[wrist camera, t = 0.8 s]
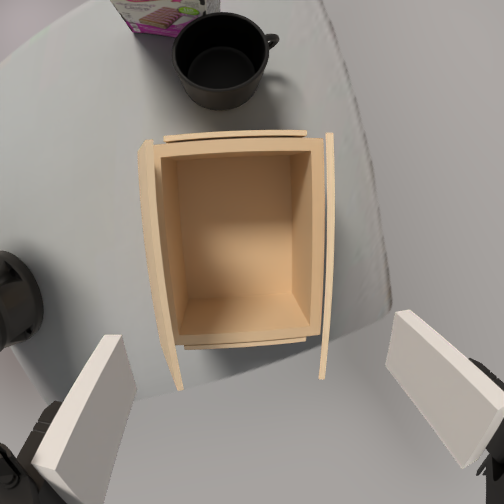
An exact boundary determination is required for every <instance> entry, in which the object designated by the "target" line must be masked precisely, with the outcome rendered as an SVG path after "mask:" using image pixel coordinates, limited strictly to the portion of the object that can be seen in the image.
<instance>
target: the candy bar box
mask: <svg viewBox="0 0 504 504" xmlns="http://www.w3.org/2000/svg"><path fill="white" fill-rule="evenodd" d="M110 1H111V3H112V4H113V5H114V7H115V8H116V10H117V11H118V12H119V14H120V15H121V16H122V18H123V19H124V21H125V22H126V24H127V25H128V27H129V28H130V30H131V31H132V32H136V33H146V34H156V35H163V36H170V37H177V36H178V34H179V33H180V31H181V30H182V29H183V28H184V27H185V26H186V25H187V24H189V23H190V22H191V21H193V20H195V19H197V18H198V17H201V16H204V15H207V14H211V13H218V12H220V0H110Z"/></svg>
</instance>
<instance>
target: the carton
mask: <svg viewBox="0 0 504 504" xmlns="http://www.w3.org/2000/svg"><path fill="white" fill-rule="evenodd" d="M305 136H307V130H244V131H221V132H205V133H192V134H180V135H170V136H163V138H164V142H166V143H168V144H159V145H153V151H154V172H155V188H156V202H157V214H158V226H159V236H160V245H161V254H162V263H163V271H164V279H165V286H166V293H167V300H168V307H169V313H170V320H171V326H172V332H173V337H174V343H175V345H184V348H185V350H196V349H219V348H236V347H251V346H263V345H275V344H285V343H295V342H304V341H306V336H313V335H320V330H321V315H322V296H323V272H324V228H325V193H324V149H323V138H302V137H305Z"/></svg>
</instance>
